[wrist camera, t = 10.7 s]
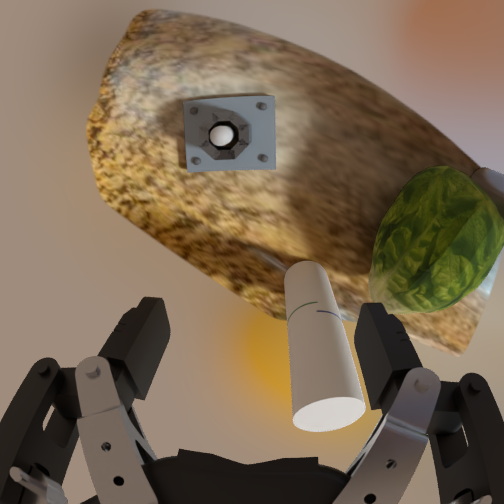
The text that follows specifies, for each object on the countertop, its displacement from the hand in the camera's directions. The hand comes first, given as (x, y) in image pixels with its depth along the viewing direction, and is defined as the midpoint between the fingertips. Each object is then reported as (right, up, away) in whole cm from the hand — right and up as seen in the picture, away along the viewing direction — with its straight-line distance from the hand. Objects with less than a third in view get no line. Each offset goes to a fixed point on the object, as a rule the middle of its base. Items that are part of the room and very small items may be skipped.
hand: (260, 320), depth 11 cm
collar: (-3, +18, +22) cm, 29 cm away
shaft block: (-3, +19, +24) cm, 31 cm away
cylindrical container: (+8, -2, +34) cm, 35 cm away
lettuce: (+25, +7, +29) cm, 39 cm away
